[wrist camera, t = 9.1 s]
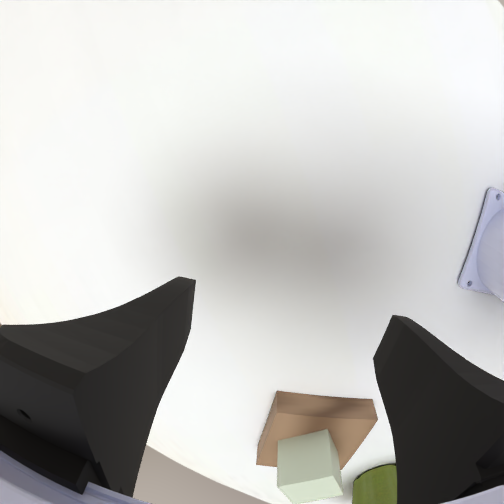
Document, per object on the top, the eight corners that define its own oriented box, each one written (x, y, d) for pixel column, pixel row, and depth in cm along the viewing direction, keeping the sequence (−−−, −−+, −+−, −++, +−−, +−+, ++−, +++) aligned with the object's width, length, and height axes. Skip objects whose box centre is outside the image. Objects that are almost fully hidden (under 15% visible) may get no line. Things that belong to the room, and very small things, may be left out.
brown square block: (371, 396, 26) (377, 419, 23) (338, 448, 29) (341, 469, 26) (276, 387, 26) (276, 412, 23) (258, 442, 29) (256, 464, 26)
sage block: (327, 428, 23) (333, 475, 19) (337, 452, 25) (343, 494, 20) (277, 440, 24) (276, 486, 20) (292, 462, 26) (293, 504, 21)
